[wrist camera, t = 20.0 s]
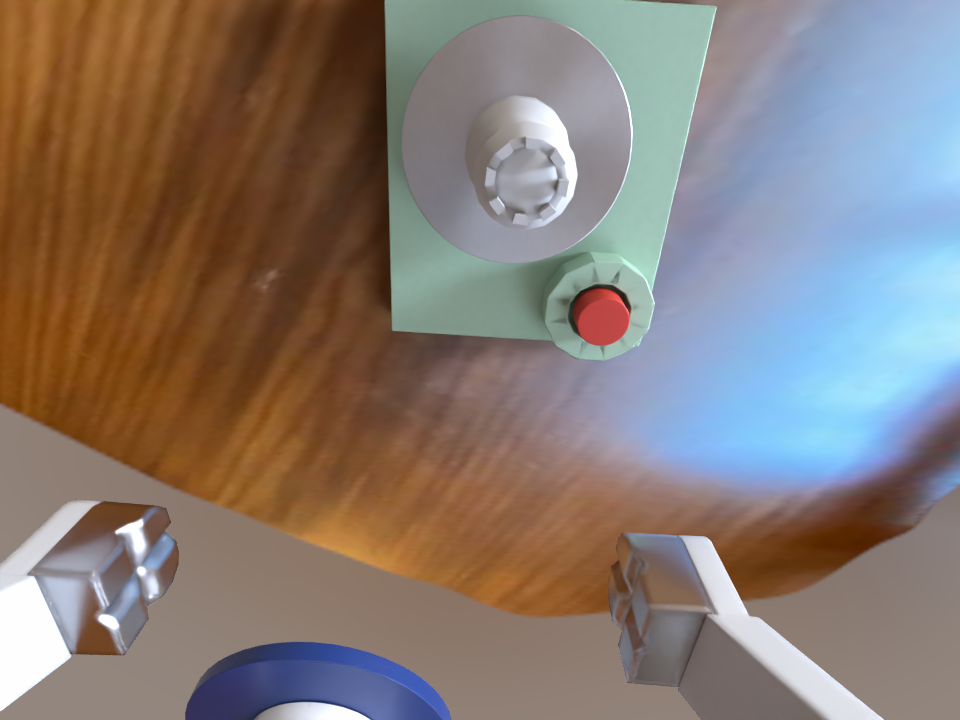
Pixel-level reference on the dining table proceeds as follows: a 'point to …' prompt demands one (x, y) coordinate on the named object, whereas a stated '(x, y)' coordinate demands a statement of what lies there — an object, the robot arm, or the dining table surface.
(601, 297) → the tare button
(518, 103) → the rook chess piece
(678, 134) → the scale
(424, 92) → the pan
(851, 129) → the dining table surface
